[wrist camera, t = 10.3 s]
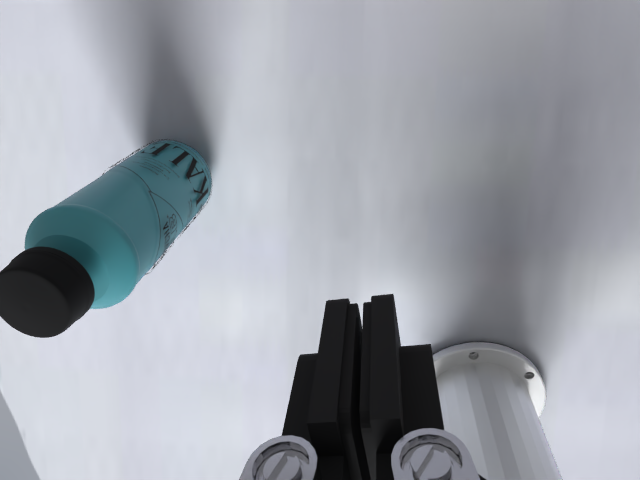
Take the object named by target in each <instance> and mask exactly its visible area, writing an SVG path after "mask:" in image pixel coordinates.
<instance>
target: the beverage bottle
mask: <svg viewBox="0 0 640 480" xmlns="http://www.w3.org/2000/svg"><path fill="white" fill-rule="evenodd" d="M161 140H163V141H158V142H155V143H152V142H151V143H152V144H150V143H149V144H150V145H149V146H147V145H148V144H147V145H146V146H147V147H145V148H144V149H142V148H141V149H142V150H141V151H139V149H138V151H139V152H137V150H136V152H137V153H136V154H134V152H135V151H134V152H133V153H131V155H132V154H134V155H133V156H131V157H129V155H128V157H129V158H128V159H127V157H126V158H125V159H126V160H125V161H123V162H121V161H120V162H121V163H120V164H118V165H117V166H116V164H117V163H119V161H118V162H117V163H115V167H114V166H113V168H112V169H110V170H109V171H107V172H106V173H105V174H104V173H103V174H104V175H102V176H101V177H99V178H98V179H96V180H95V181H93V182H92V183H90V184H88V185H87V186H85V187H84V188H82V189H81V190H79V191H78V192H76V193H74V194H73V195H71V196H70V197H68V198H67V199H65V200H64V201H62V202H60V203H59V204H57V205H56V206H54V207H52V208H50V209H47V210H45V211H44V212H42V213H41V214H39V215H38V216H37V217H36V218H35V219H34V220H33V221H32V223H31V224H30V226H29V228H28V230H27V234H26V238H25V251H23V252H22V253H20V254H19V255H18V256H16V257H15V258H14V259H13V260H12V261H11V262H10V264H9V265H8V266H6V267H5V268H4V269H3V270H2V271H1V272H0V316H1V317H2V318H3V319H4V320H5V321H6V322H7V323H8V324H9V325H10V326H12V327H13V328H15V329H16V330H18V331H20V332H22V333H24V334H27V335H30V336H34V337H40V338H46V337H53V336H56V335H58V334H60V333H62V332H64V331H65V330H66V329H67V328H69V327H70V326H71V325H72V324H73V323H74V322H75V321H77V320H78V319H80V318H81V317H82V316H83V315H84V314H85V313H86V312H87V311H88V310H89V309H100V308H107V307H110V306H113V305H115V304H117V303H119V302H121V301H123V300H124V299H125V298H126V297H127V296H128V295H129V294H130V293H131V292H132V290H133V289H134V287H135V285H136V284H137V283H138V282H139V281H140V279H141V278H142V277H143V276H144V275H145V274H146V273H147V272H148V271H149V270H150V268H151V267H152V266H153V265H154V267H155V262H156V261H157V260H158V259H159V258H160V256H161V255H162V254H163V253H164V252H166V251H167V250H166V249H168V247H171V246H170V245H171V244H172V243H174V240H175V239H176V237H177V236H178V235H179V234H180V233H182V232H181V231H182V230H183V229H184V228H185V227H186V226H187V225H188V223H189V222H190V221H191V219H192V218H193V217H194V216H196V214H197V212H198V211H199V210H200V209H201V208H202V206H203V205H204V204H205V202H206V201H207V199H208V197H209V196H210V191H211V181H212V179H211V174H210V171H209V168H208V166H207V164H206V162H205V161H204V159H203V158H202V157H201V155H200V154H199V153H198V152H196V151H195V150H194V149H193V148H191V147H190V146H188V145H186V144H183V143H181V142H178V141H174V140H173V141H169V140H168V139H161ZM155 141H156V140H155ZM121 160H122V159H121ZM123 160H124V159H123ZM111 167H112V166H111ZM104 172H105V171H104ZM211 192H212V191H211ZM207 202H208V201H207ZM206 204H207V203H206ZM205 206H206V205H205ZM203 208H204V207H203ZM200 211H202V210H200ZM199 213H200V212H199ZM197 216H198V215H197ZM194 219H195V217H194ZM193 221H194V220H192V222H193ZM192 222H190V224H191V223H192ZM190 224H189V225H190ZM189 225H188V226H189ZM188 226H187V227H188ZM187 227H186V229H187ZM186 229H185V230H186ZM185 230H184V231H185ZM182 234H183V233H182ZM180 236H181V235H180ZM163 257H164V254H163V255H162V256H161V258H163ZM159 262H160V261H159ZM157 264H158V263H157ZM154 267H153V268H152V269H154ZM147 274H148V273H147Z"/></svg>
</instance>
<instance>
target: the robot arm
mask: <svg viewBox="0 0 640 480" xmlns="http://www.w3.org/2000/svg"><path fill="white" fill-rule="evenodd" d="M545 402H546V389H545V385H544V382H543V380H542V377H541V375H540V373H539V371H538V370H537V368H536V366H535V365H534V364H533V363H532V362H531V361H530V360H529V359H528V358H527V357H525V356H524V355H522V354H521V353H520V352H518V351H516V350H513V349H511V348H509V347H506V346H502V345H499V344H495V343H485V342H473V343H464V344H459V345H454V346H451V347H448V348H446V349H443V350H441V351H439V352H437V353H435V354H434V355H432V349H431V344H426V345H414V346H401V344H400V337H399V330H398V323H397V316H396V308H395V301H394V295H393V294H388V295H378V296H372V297H371V302H365V303H364V304H363V329H362V324H361V319H360V313H359V308H358V304H357V303H355V304H350V301H349V299H338V300H328V301H326V306H325V312H324V319H323V325H322V331H321V337H320V344H319V350H318V353H315V354H303V355H300V356H299V359H298V362H297V367H296V371H295V376H294V381H293V385H292V390H291V395H290V400H289V404H288V409H287V414H286V418H285V423H284V428H283V432H282V436H279V437H276V438H273V439H270V440H268V441H267V442H265V443H263V444H262V445H260V446H259V447H258V448H257V449H256V450H255V451H254V452H253V453H252V454H251V456H250V458H249V459H248V461H247V463H246V465H245V467H244V469H243V472H242V474H241V476H240V479H239V480H563V479H562V477H561V474H560V472H559V469H558V466H557V464H556V461H555V459H554V456H553V454H552V451H551V448H550V446H549V443H548V441H547V438H546V435H545V433H544V430H543V428H542V425H541V423H540V420H539V417H540V416H541V414H542V412H543V410H544V407H545Z"/></svg>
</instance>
